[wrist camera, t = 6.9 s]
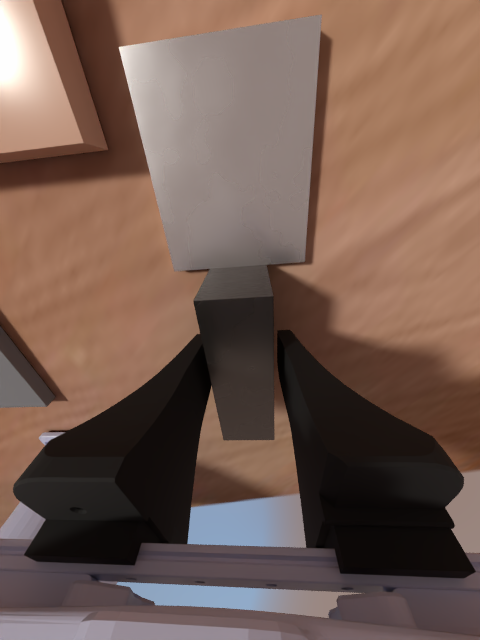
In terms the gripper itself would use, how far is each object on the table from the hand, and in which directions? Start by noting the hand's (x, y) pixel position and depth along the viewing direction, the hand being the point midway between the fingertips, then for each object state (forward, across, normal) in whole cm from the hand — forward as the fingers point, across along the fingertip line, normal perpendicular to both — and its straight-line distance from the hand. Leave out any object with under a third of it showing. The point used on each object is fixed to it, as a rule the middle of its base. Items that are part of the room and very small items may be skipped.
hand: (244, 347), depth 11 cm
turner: (+2, 0, -3) cm, 3 cm away
